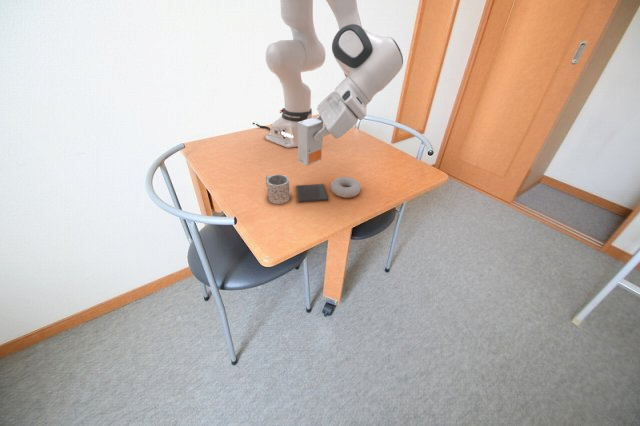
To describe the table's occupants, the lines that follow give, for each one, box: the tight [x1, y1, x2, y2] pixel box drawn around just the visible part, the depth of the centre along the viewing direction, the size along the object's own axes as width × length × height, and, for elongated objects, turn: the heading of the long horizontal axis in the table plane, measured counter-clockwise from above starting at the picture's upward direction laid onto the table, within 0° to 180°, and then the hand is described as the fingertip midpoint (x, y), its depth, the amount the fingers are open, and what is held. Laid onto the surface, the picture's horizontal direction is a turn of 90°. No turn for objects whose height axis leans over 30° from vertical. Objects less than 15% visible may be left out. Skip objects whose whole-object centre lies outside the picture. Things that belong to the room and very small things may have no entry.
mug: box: [265, 174, 291, 205], centre depth 85 cm, size 10×7×7 cm, turn 41°
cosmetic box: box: [297, 117, 324, 167], centre depth 78 cm, size 6×4×12 cm
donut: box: [330, 176, 362, 199], centre depth 90 cm, size 10×3×10 cm
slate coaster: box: [296, 183, 328, 203], centre depth 89 cm, size 9×9×1 cm
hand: (313, 134), depth 77 cm, fingers closed on cosmetic box, 5 cm apart
